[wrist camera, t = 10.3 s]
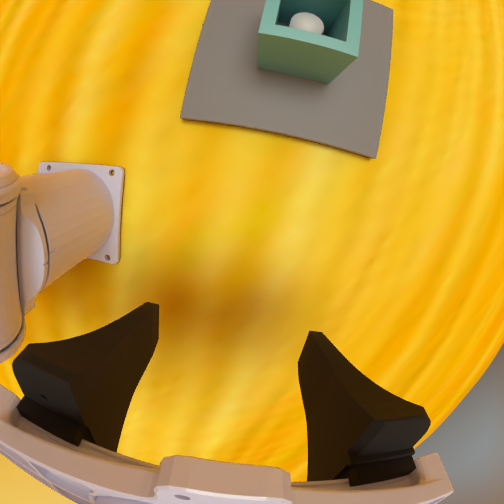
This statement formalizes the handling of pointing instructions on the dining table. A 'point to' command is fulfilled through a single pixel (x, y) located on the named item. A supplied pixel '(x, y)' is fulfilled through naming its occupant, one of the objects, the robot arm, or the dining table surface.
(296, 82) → the stub board
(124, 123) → the dining table surface
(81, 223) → the robot arm
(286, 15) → the sleeve
